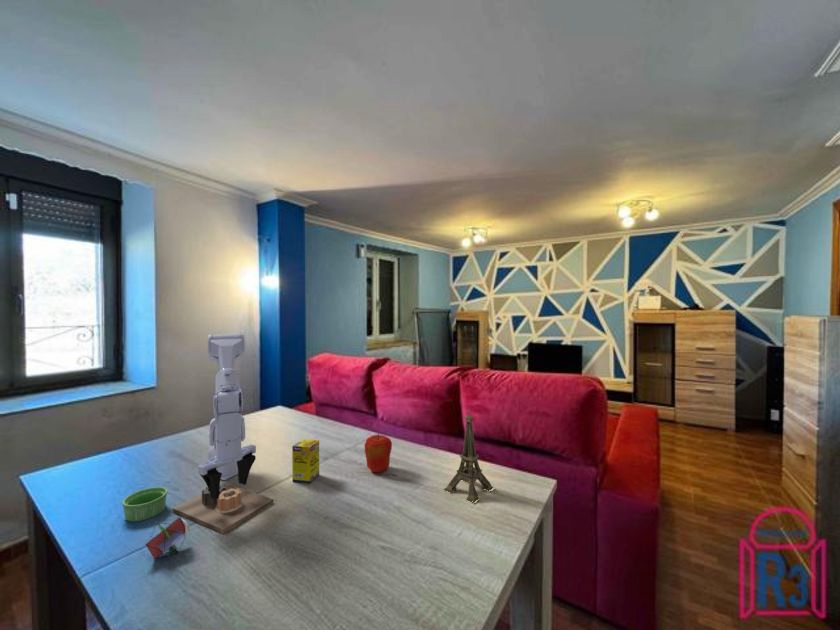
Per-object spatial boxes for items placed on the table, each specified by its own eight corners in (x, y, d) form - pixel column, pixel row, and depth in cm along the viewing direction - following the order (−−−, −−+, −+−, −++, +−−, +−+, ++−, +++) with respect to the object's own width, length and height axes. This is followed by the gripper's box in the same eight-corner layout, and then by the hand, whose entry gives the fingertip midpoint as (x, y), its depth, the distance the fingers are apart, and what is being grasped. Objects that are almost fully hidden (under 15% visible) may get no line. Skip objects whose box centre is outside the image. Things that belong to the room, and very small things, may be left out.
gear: (212, 508, 87) (212, 496, 87) (232, 497, 92) (232, 486, 92) (226, 513, 85) (226, 501, 85) (245, 502, 90) (245, 491, 90)
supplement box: (310, 484, 101) (309, 447, 101) (291, 482, 103) (291, 445, 103) (320, 474, 107) (319, 439, 107) (302, 472, 109) (302, 438, 108)
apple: (359, 473, 108) (359, 436, 108) (373, 462, 116) (372, 427, 116) (384, 478, 105) (384, 439, 105) (396, 466, 112) (396, 430, 112)
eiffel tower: (443, 490, 98) (443, 403, 97) (465, 477, 105) (464, 396, 105) (474, 504, 91) (474, 410, 90) (495, 489, 98) (495, 402, 98)
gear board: (172, 511, 88) (172, 494, 88) (224, 486, 100) (224, 471, 100) (223, 533, 79) (223, 514, 79) (273, 502, 92) (273, 486, 91)
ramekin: (117, 527, 82) (117, 509, 81) (128, 508, 89) (128, 491, 89) (164, 517, 86) (163, 499, 86) (170, 499, 94) (170, 483, 94)
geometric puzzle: (144, 564, 67) (172, 518, 71) (130, 551, 70) (157, 508, 74) (178, 567, 72) (202, 524, 76) (163, 555, 75) (187, 515, 79)
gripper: (210, 451, 80) (211, 509, 80) (263, 431, 93) (264, 481, 93) (192, 446, 83) (193, 501, 83) (245, 427, 96) (246, 475, 96)
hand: (229, 490), depth 89 cm, fingers open, 7 cm apart
